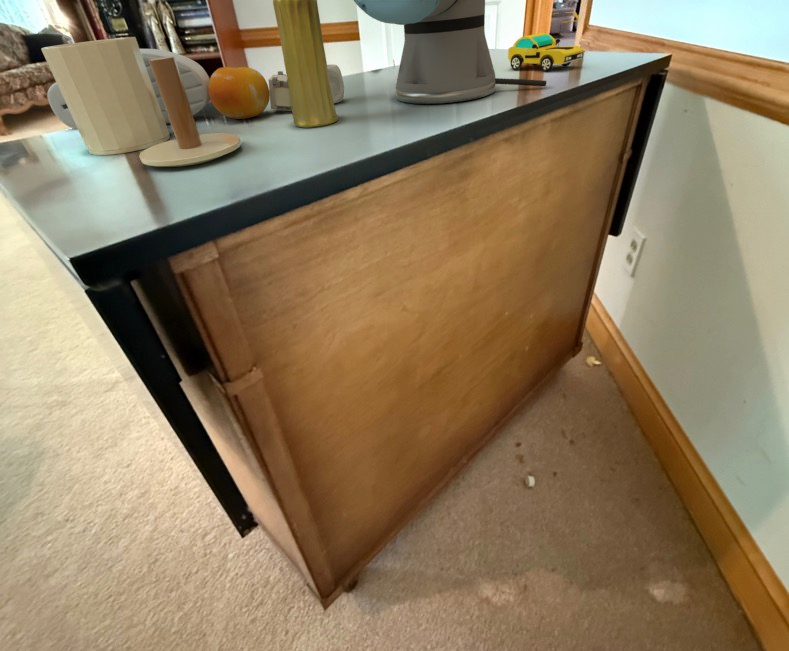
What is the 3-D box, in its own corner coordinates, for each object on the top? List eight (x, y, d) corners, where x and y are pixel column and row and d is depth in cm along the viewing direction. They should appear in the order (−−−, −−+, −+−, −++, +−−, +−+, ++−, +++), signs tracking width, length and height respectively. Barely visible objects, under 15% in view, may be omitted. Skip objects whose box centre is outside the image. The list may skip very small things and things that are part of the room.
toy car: (503, 70, 87) (506, 17, 82) (529, 64, 90) (533, 12, 86) (559, 73, 79) (566, 14, 74) (585, 66, 83) (593, 9, 78)
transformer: (291, 90, 87) (318, 93, 88) (270, 120, 72) (302, 123, 72) (289, 54, 84) (317, 57, 84) (266, 77, 68) (301, 81, 69)
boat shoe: (183, 44, 64) (218, 31, 72) (21, 66, 71) (69, 52, 79) (211, 122, 71) (241, 102, 78) (61, 135, 78) (101, 116, 85)
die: (308, 102, 77) (302, 67, 74) (337, 97, 78) (333, 63, 75) (315, 106, 73) (309, 70, 70) (346, 101, 74) (341, 66, 71)
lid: (251, 139, 60) (227, 47, 54) (230, 165, 51) (198, 58, 45) (163, 148, 60) (130, 58, 54) (126, 176, 51) (81, 71, 45)
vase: (315, 116, 68) (294, -3, 60) (347, 118, 65) (329, -7, 57) (285, 126, 64) (258, 0, 56) (318, 129, 61) (294, -4, 53)
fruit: (281, 88, 67) (243, 38, 65) (235, 123, 66) (194, 72, 64) (277, 109, 75) (243, 65, 73) (235, 140, 74) (199, 95, 72)
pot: (180, 130, 68) (148, 34, 61) (154, 150, 60) (112, 41, 53) (110, 138, 68) (70, 43, 61) (74, 158, 60) (22, 51, 53)
